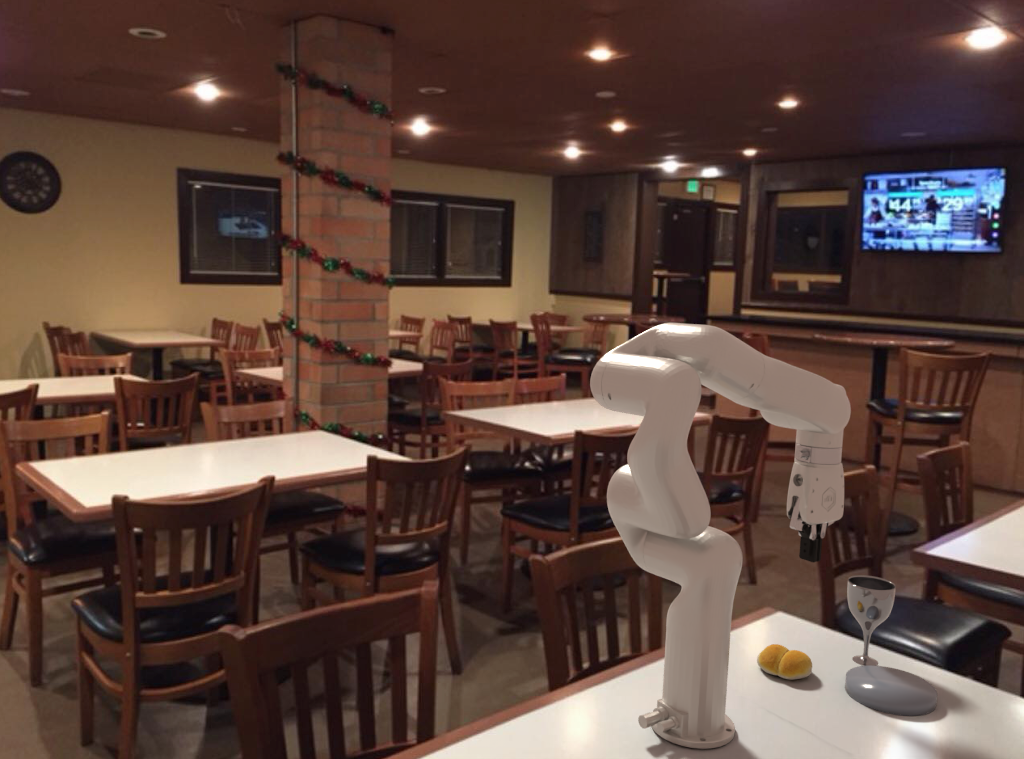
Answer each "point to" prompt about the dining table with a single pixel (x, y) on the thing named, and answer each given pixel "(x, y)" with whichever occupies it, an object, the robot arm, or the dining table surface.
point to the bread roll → (784, 662)
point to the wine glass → (869, 607)
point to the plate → (891, 690)
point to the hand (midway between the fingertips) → (809, 559)
